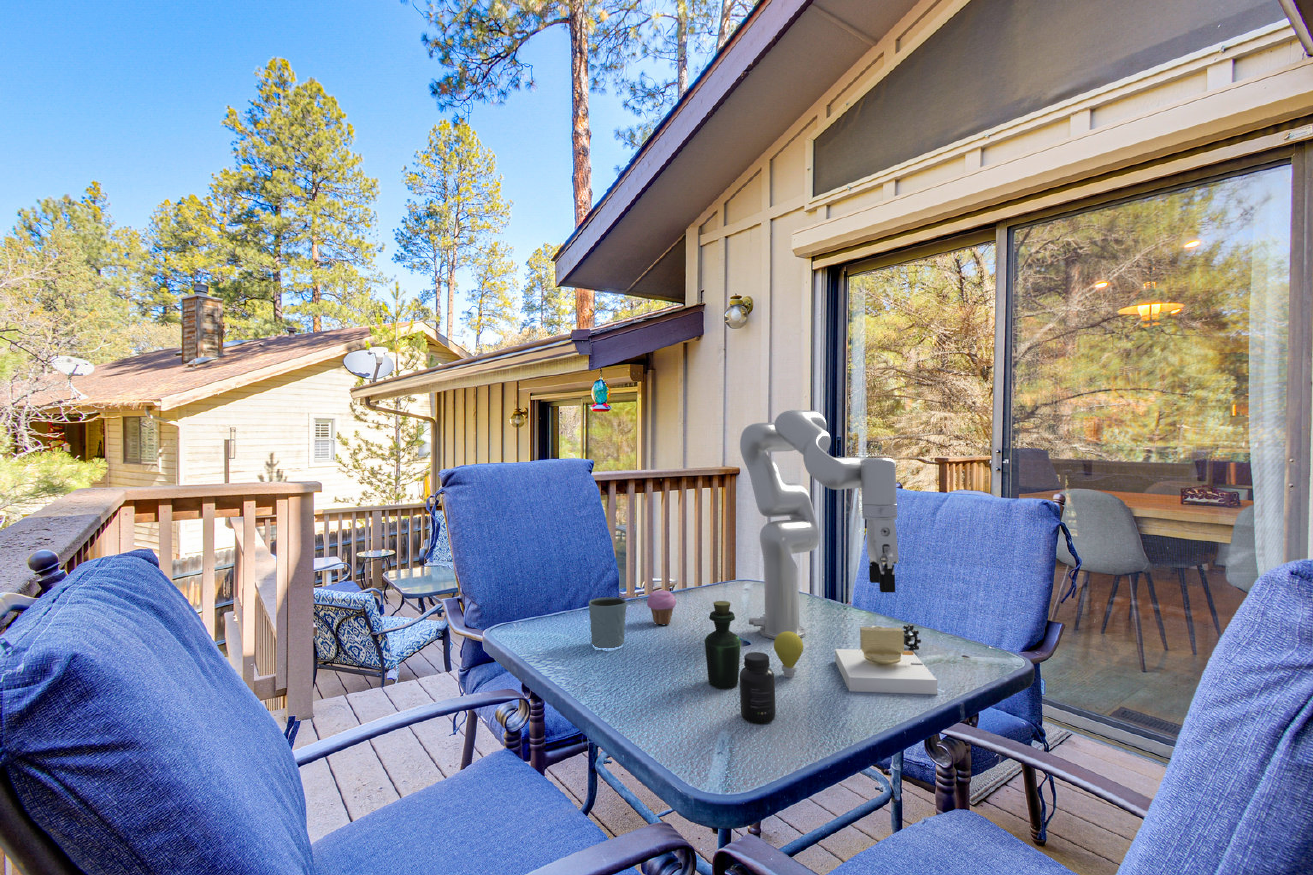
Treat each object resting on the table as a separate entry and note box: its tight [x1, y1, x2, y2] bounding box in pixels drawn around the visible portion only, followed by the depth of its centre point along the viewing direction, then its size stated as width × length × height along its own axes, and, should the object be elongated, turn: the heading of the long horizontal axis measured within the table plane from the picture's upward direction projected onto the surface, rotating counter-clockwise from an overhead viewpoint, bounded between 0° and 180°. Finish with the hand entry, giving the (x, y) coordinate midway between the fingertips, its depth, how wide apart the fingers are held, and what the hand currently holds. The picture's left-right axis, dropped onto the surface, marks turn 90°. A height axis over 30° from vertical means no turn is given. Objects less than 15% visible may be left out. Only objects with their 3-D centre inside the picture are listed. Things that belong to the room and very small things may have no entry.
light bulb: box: [773, 631, 804, 678], centre depth 139 cm, size 7×7×10 cm
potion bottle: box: [703, 600, 742, 690], centre depth 135 cm, size 8×8×18 cm
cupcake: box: [646, 589, 677, 625], centre depth 181 cm, size 9×9×10 cm
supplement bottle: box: [739, 651, 777, 725], centre depth 118 cm, size 7×7×12 cm
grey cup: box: [588, 596, 628, 648], centre depth 162 cm, size 10×10×12 cm
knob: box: [859, 626, 914, 664], centre depth 137 cm, size 11×8×8 cm
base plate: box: [834, 648, 938, 695], centre depth 137 cm, size 18×18×3 cm
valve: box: [871, 623, 922, 651], centre depth 153 cm, size 7×7×12 cm
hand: (882, 587), depth 137 cm, fingers open, 9 cm apart
